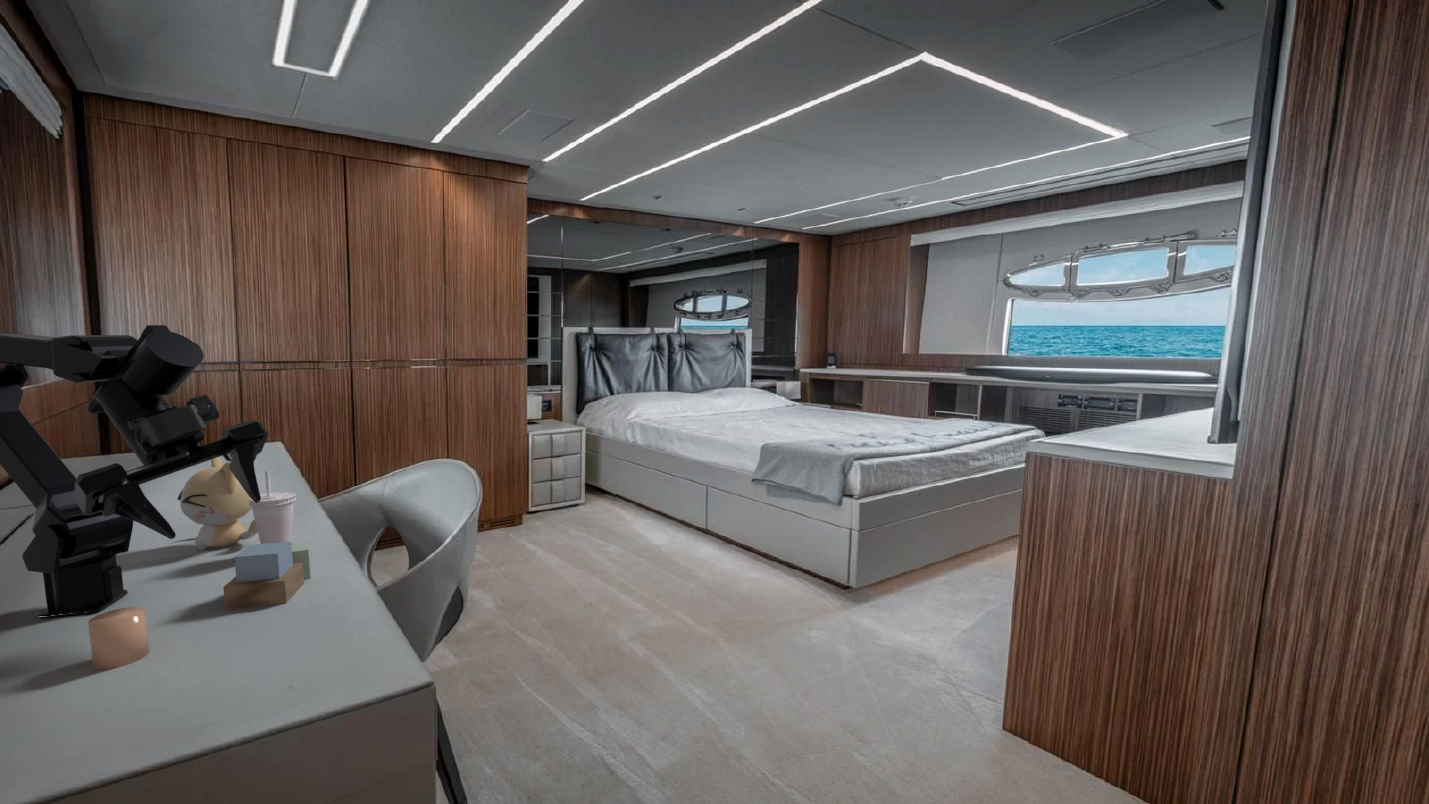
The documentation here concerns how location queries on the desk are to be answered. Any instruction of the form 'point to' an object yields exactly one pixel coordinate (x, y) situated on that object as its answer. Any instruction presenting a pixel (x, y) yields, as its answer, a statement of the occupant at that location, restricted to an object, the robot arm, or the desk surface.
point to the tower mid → (263, 561)
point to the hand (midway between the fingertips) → (218, 518)
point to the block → (302, 557)
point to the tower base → (264, 590)
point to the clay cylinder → (118, 637)
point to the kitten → (216, 506)
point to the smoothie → (274, 515)
